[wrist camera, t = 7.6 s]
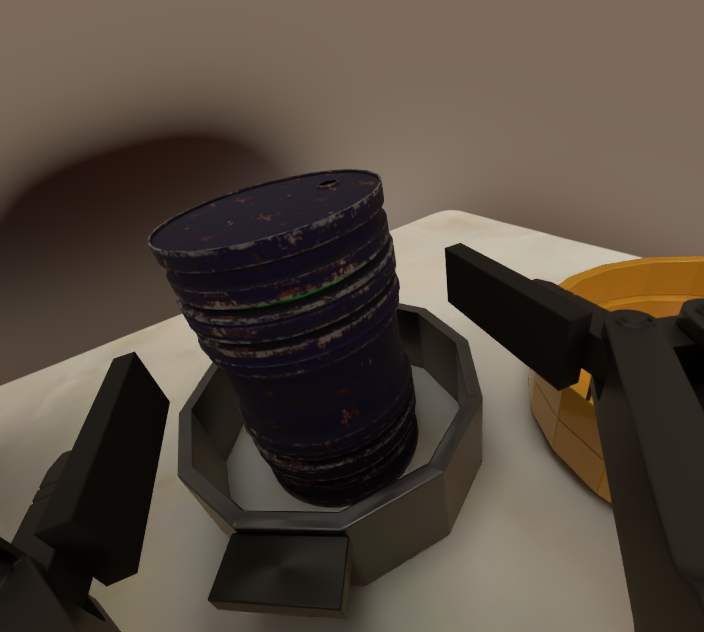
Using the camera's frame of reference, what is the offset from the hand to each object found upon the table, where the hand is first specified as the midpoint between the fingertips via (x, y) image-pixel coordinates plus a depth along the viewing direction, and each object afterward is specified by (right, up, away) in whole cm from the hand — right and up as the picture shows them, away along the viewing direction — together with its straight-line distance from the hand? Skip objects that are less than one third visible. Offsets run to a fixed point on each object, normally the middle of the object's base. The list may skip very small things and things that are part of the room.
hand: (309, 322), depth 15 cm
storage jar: (+1, -7, +8) cm, 11 cm away
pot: (+1, -7, +8) cm, 11 cm away
